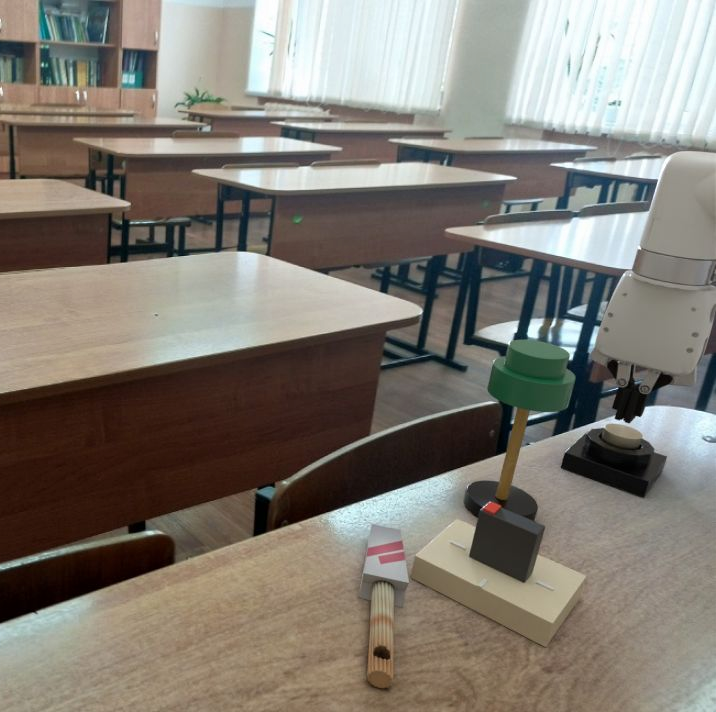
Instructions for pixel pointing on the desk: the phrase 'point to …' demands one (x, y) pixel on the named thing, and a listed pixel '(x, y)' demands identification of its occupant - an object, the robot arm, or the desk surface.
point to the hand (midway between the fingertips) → (625, 417)
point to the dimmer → (499, 585)
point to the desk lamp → (522, 414)
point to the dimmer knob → (506, 541)
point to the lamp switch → (614, 463)
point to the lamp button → (621, 436)
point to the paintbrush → (383, 598)
